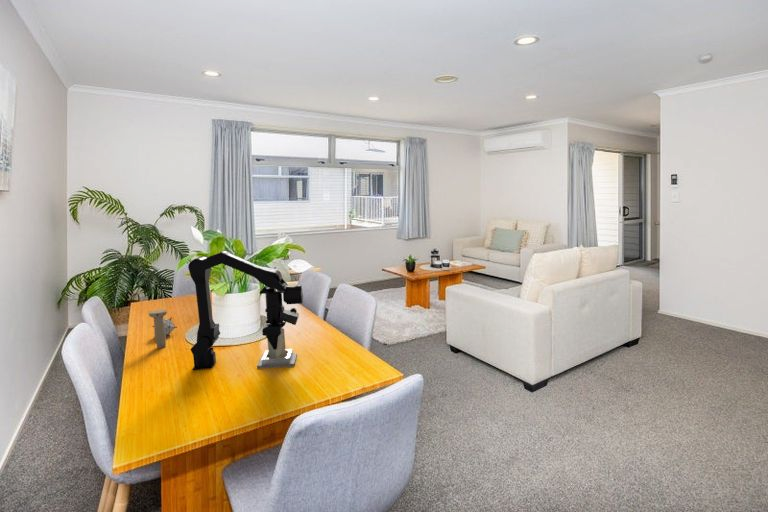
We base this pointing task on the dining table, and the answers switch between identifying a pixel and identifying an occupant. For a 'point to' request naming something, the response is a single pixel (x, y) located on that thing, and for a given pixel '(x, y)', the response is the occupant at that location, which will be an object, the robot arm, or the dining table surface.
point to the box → (278, 347)
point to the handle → (159, 327)
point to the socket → (277, 360)
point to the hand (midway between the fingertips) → (276, 346)
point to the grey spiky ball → (168, 326)
